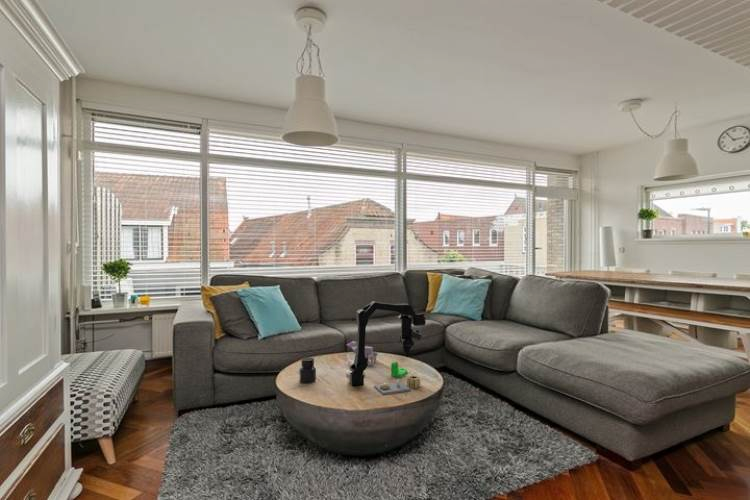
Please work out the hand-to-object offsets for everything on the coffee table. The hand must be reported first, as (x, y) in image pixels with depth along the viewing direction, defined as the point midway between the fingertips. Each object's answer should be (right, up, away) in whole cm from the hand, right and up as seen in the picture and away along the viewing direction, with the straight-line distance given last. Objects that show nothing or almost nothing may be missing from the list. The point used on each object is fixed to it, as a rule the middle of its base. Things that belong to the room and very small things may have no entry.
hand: (406, 354), depth 227 cm
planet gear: (+3, -14, -10) cm, 17 cm away
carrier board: (-9, -14, -15) cm, 22 cm away
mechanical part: (-3, -14, +10) cm, 18 cm away
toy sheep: (-26, -14, +32) cm, 43 cm away
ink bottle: (-54, -14, -2) cm, 56 cm away
